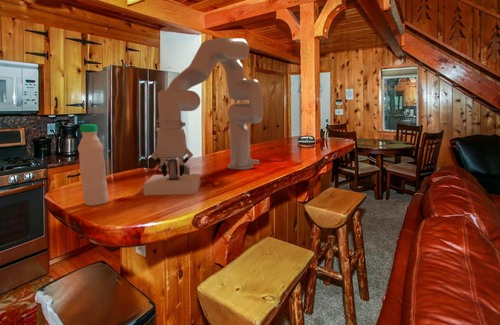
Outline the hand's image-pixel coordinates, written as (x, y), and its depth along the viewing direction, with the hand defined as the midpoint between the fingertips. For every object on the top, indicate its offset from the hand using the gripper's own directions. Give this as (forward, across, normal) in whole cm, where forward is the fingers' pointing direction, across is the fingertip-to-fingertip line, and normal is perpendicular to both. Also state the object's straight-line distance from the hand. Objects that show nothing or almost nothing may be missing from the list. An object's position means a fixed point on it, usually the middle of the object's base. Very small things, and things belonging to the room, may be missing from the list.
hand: (173, 174), depth 111 cm
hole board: (+5, 0, 0) cm, 5 cm away
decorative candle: (+6, +10, -37) cm, 39 cm away
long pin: (+5, 0, 0) cm, 5 cm away
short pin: (+5, -2, -17) cm, 18 cm away
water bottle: (+6, +22, +14) cm, 27 cm away
